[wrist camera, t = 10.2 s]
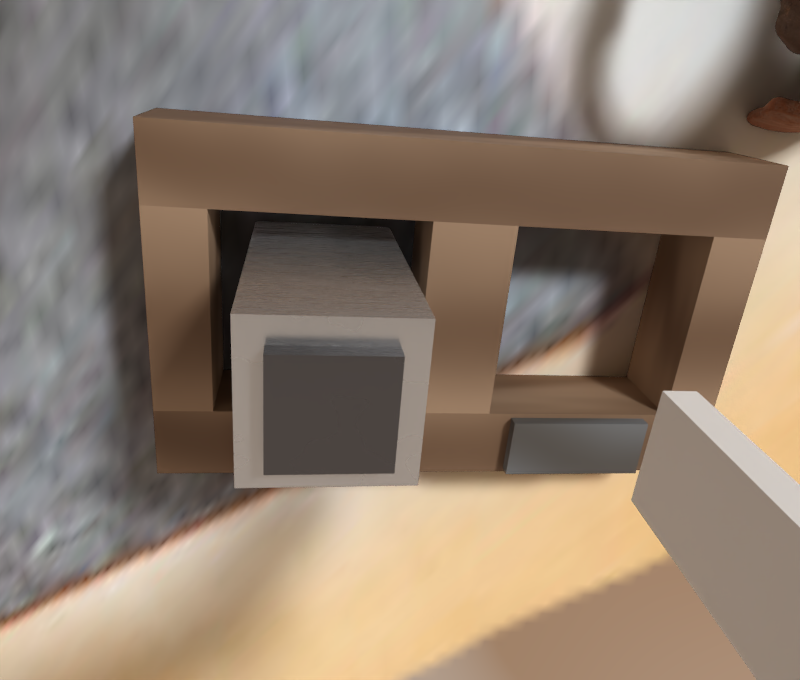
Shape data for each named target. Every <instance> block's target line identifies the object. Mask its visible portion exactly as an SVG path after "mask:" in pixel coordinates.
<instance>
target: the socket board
mask: <svg viewBox="0 0 800 680" xmlns="http://www.w3.org/2000/svg"><path fill="white" fill-rule="evenodd" d="M133 125H134V140H135V154H136V169H137V183H138V198H139V212H140V227H141V242H142V256H143V271H144V285H145V300H146V314H147V329H148V344H149V358H150V373H151V387H152V402H153V416H154V431H155V446H156V460H157V473H234V451H233V408H232V370H223V326H222V278H221V230H220V210H234V211H252V212H270V213H289V214H307V215H325V216H343V217H361V218H380V219H398V220H415V230H414V240H413V251H412V261H411V271H412V273H413V275H414V277H415V279H416V281H417V283H418V285H419V287H420V289H421V291H422V293H423V295H424V297H425V299H426V301H427V303H428V305H429V307H430V309H431V311H432V313H433V315H434V317H435V319H436V320H435V330H434V339H433V348H432V358H431V367H430V376H429V386H428V395H427V405H426V414H425V423H424V433H423V442H422V451H421V461H420V470H419V472H425V471H505V473H506V474H581V473H636V470H640V468H641V464H642V461H643V457H644V454H645V450H646V447H647V443H648V440H649V436H650V433H651V429H652V426H653V422H654V419H655V415H656V412H657V408H658V405H659V401H660V398H661V394H662V391H697V392H698V393H699V394H701V395H702V396H703V397H704V398H705V399H706V400H707V401H708V402H709V403H710V404H712V405H713V406H715V403H716V400H717V397H718V393H719V390H720V387H721V384H722V380H723V377H724V374H725V371H726V367H727V364H728V361H729V358H730V354H731V351H732V348H733V345H734V341H735V338H736V335H737V332H738V329H739V325H740V322H741V319H742V316H743V312H744V309H745V306H746V303H747V299H748V296H749V293H750V290H751V286H752V283H753V280H754V277H755V273H756V270H757V267H758V264H759V260H760V257H761V254H762V251H763V247H764V244H765V241H766V238H767V235H768V231H769V228H770V225H771V222H772V218H773V215H774V212H775V209H776V205H777V202H778V199H779V196H780V192H781V189H782V186H783V183H784V179H785V176H786V173H787V170H788V166H787V165H782V164H778V163H774V162H769V161H765V160H761V159H756V158H752V157H748V156H743V155H739V154H735V153H730V152H717V151H704V150H691V149H678V148H666V147H653V146H640V145H627V144H614V143H601V142H588V141H575V140H563V139H550V138H537V137H524V136H511V135H498V134H485V133H472V132H459V131H447V130H434V129H421V128H408V127H395V126H382V125H369V124H356V123H344V122H331V121H318V120H305V119H292V118H279V117H266V116H253V115H240V114H228V113H215V112H202V111H189V110H176V109H163V108H155V109H152V110H150V111H147V112H144V113H141V114H139V115H136V116H133ZM519 226H525V227H543V228H561V229H580V230H598V231H616V232H634V233H652V234H662V235H661V239H660V243H659V247H658V251H657V255H656V259H655V263H654V267H653V272H652V276H651V280H650V284H649V288H648V292H647V296H646V300H645V304H644V308H643V312H642V316H641V321H640V325H639V329H638V333H637V337H636V341H635V345H634V349H633V353H632V357H631V361H630V365H629V370H628V374H627V377H604V376H547V375H495V374H496V368H497V362H498V355H499V349H500V343H501V336H502V330H503V324H504V317H505V311H506V305H507V298H508V292H509V286H510V279H511V273H512V267H513V260H514V254H515V248H516V241H517V235H518V229H519Z"/></svg>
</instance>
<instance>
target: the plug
mask: <svg viewBox="0 0 800 680" xmlns="http://www.w3.org/2000/svg"><path fill="white" fill-rule="evenodd" d="M435 320H436V319H435V317H434V315H433V313H432V311H431V309H430V307H429V305H428V303H427V301H426V299H425V297H424V295H423V293H422V291H421V289H420V287H419V285H418V283H417V281H416V279H415V277H414V275H413V273H412V271H411V269H410V267H409V265H408V263H407V262H406V260H405V258H404V256H403V254H402V252H401V250H400V248H399V246H398V244H397V242H396V240H395V238H394V236H393V234H392V232H391V230H390V228H389V227H375V226H354V225H332V224H310V223H288V222H267V221H256V223H255V226H254V230H253V234H252V237H251V241H250V244H249V248H248V252H247V255H246V259H245V263H244V266H243V270H242V273H241V277H240V281H239V284H238V288H237V292H236V295H235V299H234V302H233V306H232V310H231V313H230V321H231V364H232V408H233V451H234V488H281V487H344V486H406V485H418V479H419V470H420V461H421V451H422V442H423V433H424V423H425V414H426V405H427V395H428V386H429V376H430V367H431V358H432V348H433V339H434V330H435Z"/></svg>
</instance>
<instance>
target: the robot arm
mask: <svg viewBox="0 0 800 680" xmlns="http://www.w3.org/2000/svg"><path fill="white" fill-rule="evenodd" d="M631 501H632V502H633V503H634V505H635V506H636V508H637V509H638V511H639V512H640V513H641V515H642V516H643V518H644V519H645V521H646V522H647V523H648V525H649V526H650V528H651V529H652V531H653V532H654V533H655V535H656V536H657V538H658V539H659V541H660V542H661V544H662V545H663V546H664V548H665V549H666V551H667V552H668V554H669V555H670V556H671V558H672V559H673V561H674V562H675V564H676V565H677V566H678V568H679V569H680V571H681V572H682V573H683V575H684V576H685V578H686V579H687V581H688V582H689V583H690V585H691V586H692V588H693V589H694V591H695V592H696V593H697V595H698V596H699V598H700V599H701V601H702V602H703V604H704V605H705V606H706V608H707V609H708V611H709V612H710V614H711V615H712V617H713V618H714V619H715V621H716V622H717V624H718V625H719V627H720V628H721V629H722V631H723V632H724V634H725V635H726V637H727V638H728V639H729V641H730V642H731V644H732V645H733V646H734V648H735V649H736V651H737V652H738V654H739V655H740V657H741V658H742V659H743V661H744V662H745V664H746V665H747V667H748V668H749V669H750V671H751V672H752V674H753V675H754V677H755V678H756V679H757V680H800V485H799V484H798V483H797V482H796V481H795V480H794V479H793V478H792V477H791V476H790V475H788V474H787V473H786V472H785V471H784V470H783V469H782V468H781V467H780V466H779V465H777V464H776V463H775V462H774V461H773V460H772V459H771V458H770V457H769V456H768V455H766V454H765V453H764V452H763V451H762V450H761V449H760V448H759V447H758V446H757V445H755V444H754V443H753V442H752V441H751V440H750V439H749V438H748V437H747V436H746V435H744V434H743V433H742V432H741V431H740V430H739V429H738V428H737V427H736V426H735V425H733V424H732V423H731V422H730V421H729V420H728V419H727V418H726V417H725V416H724V415H723V414H721V413H720V412H719V411H718V410H717V409H716V408H715V407H714V406H713V405H712V404H710V403H709V402H708V401H707V400H706V399H705V398H704V397H703V396H702V395H701V394H699V393H698V392H697V391H662V394H661V398H660V401H659V405H658V408H657V412H656V415H655V419H654V422H653V426H652V429H651V433H650V436H649V440H648V443H647V447H646V450H645V454H644V457H643V461H642V464H641V468H640V471H639V475H638V478H637V482H636V485H635V489H634V492H633V496H632V499H631Z"/></svg>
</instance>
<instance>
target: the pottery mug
mask: <svg viewBox="0 0 800 680" xmlns="http://www.w3.org/2000/svg"><path fill="white" fill-rule="evenodd" d="M780 3H781V7H780V11H779V14H778V17H777V20H776V25H775V29H776V33H777V35H778V37H779V38H780V39H781V40H782V42H783V43H784V44H785V45H786V47H787V48H788V49H789V50H790V51H792V52H794V53H796V54H800V0H780ZM747 121H748V122H749V123H750V124H751V125H754V126H757V127H760V128H763V129H767V130H772V131H778V132H789V133H792V132H795V133H796V132H800V102H799V101H794V100H790V99H787V98H783V97H775V98H773V99H772V100H771V101H769V102H768V103H767V104H766V105H765V106H764V107H761V108H758V109H755V110H753V111H751V112H750V113H749V114H748V117H747Z"/></svg>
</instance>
